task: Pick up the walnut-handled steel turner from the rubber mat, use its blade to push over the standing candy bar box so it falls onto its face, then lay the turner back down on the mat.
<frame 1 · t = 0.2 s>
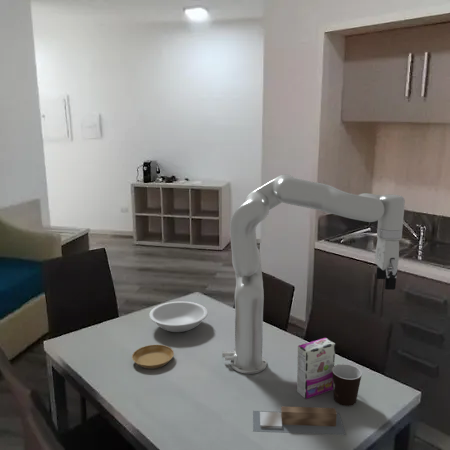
hand: (385, 283, 148), 31 cm above the table, fingers open, 9 cm apart
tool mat: (297, 423, 127), on the table
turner: (295, 422, 127), resting on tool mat
soup bowl: (179, 327, 187), on the table
coffee mug: (346, 399, 139), on the table
candy bar box: (314, 392, 142), on the table
plant saucer: (153, 361, 161), on the table
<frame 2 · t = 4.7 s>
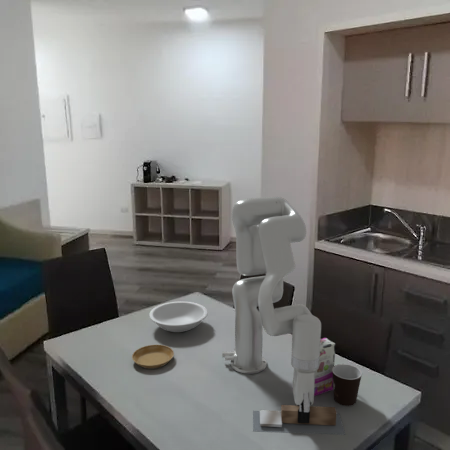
hand: (302, 418, 127), 2 cm above the table, fingers closed on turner, 2 cm apart
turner: (295, 420, 127), point 1 cm above the table, touching gripper
everything else where it was.
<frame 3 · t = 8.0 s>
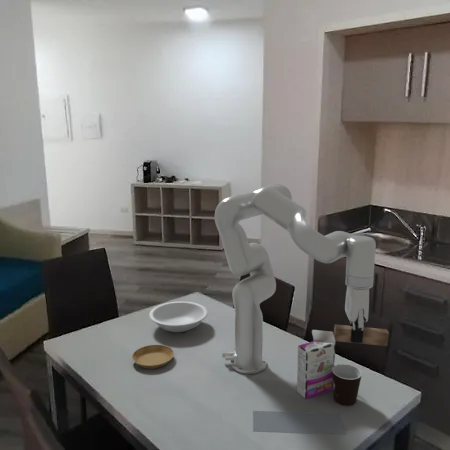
hand: (355, 339, 131), 21 cm above the table, fingers closed on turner
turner: (347, 340, 131), point 21 cm above the table, touching gripper
everything else where it was.
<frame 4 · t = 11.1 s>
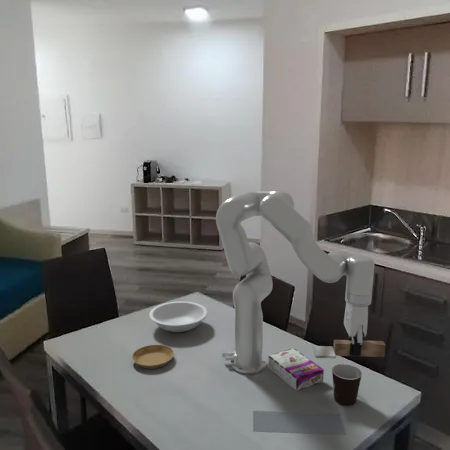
hand: (353, 352, 139), 14 cm above the table, fingers closed on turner
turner: (346, 353, 139), point 13 cm above the table, touching gripper
candy bar box: (310, 381, 144), point 2 cm above the table
everything else where it was.
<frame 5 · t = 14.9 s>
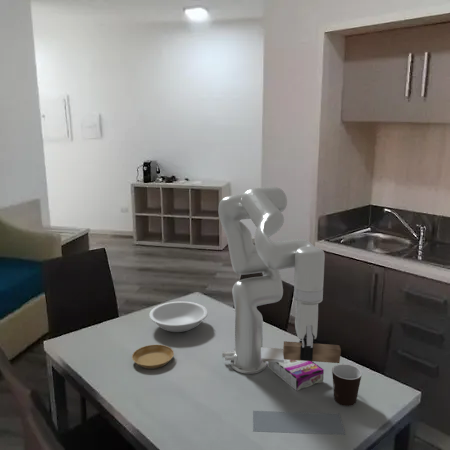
hand: (305, 356, 122), 21 cm above the table, fingers closed on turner
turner: (297, 357, 123), point 20 cm above the table, touching gripper
everything else where it was.
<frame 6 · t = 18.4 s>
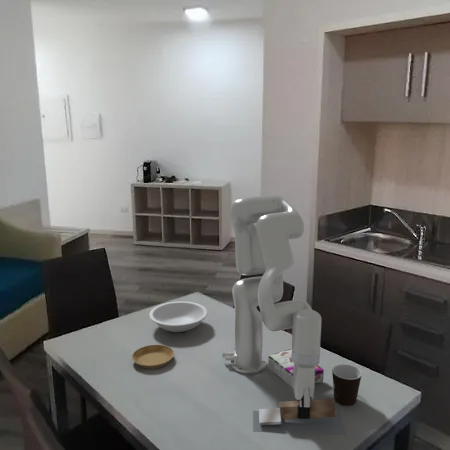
hand: (303, 414, 126), 3 cm above the table, fingers closed on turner, 2 cm apart
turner: (294, 416, 127), point 2 cm above the table, tilted 6°, touching gripper
everything else where it was.
when the fingers open (3 cm above the table, at t = 18.4 s): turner drops 2 cm, resting on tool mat.
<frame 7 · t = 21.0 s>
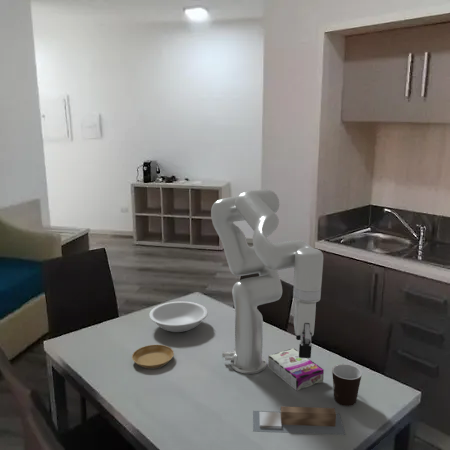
hand: (303, 348, 128), 20 cm above the table, fingers open, 9 cm apart
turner: (295, 422, 127), resting on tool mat
everything else where it was.
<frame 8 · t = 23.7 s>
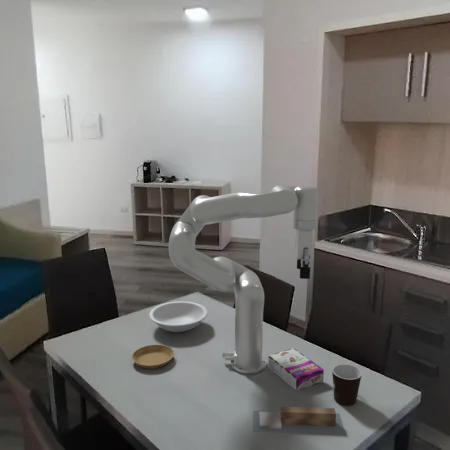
hand: (303, 273, 152), 33 cm above the table, fingers open, 9 cm apart
nothing on the table moved.
at the end: candy bar box tilted 89°; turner inside the target area on the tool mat (0.2 cm from its centre), point 0.5 cm above the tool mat's base; the gripper is holding nothing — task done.
